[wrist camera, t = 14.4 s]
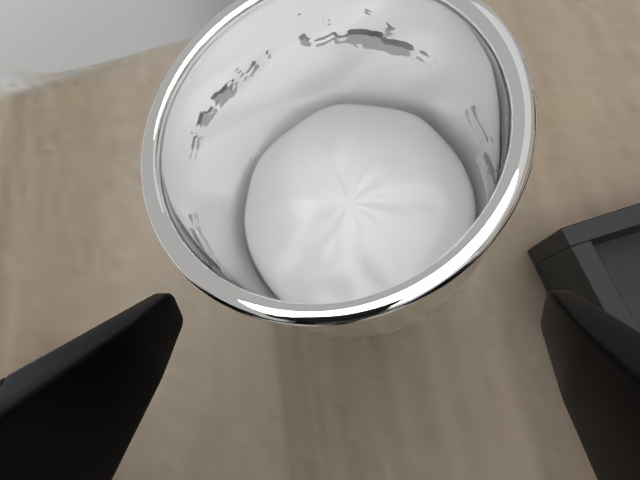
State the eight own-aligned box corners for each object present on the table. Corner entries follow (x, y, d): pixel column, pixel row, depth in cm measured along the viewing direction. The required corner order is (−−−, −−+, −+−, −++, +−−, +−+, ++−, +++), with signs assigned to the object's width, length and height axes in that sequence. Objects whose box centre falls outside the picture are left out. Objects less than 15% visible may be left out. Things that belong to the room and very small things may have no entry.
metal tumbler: (404, 190, 21) (405, -115, 7) (468, 299, 19) (680, 195, 4) (298, 244, 21) (92, 73, 7) (348, 356, 19) (194, 427, 5)
